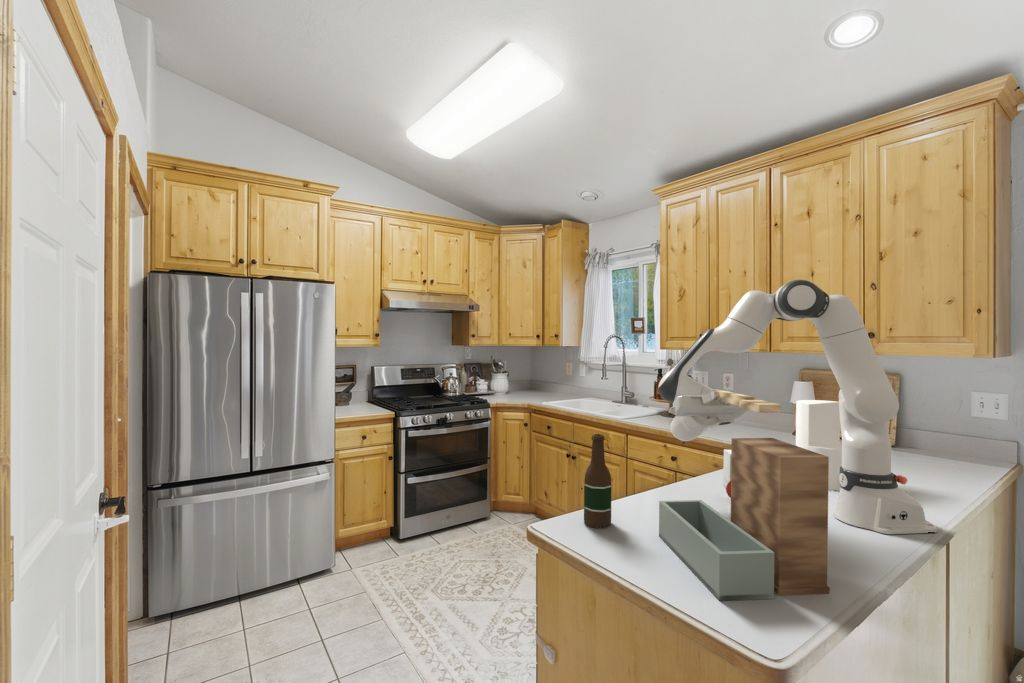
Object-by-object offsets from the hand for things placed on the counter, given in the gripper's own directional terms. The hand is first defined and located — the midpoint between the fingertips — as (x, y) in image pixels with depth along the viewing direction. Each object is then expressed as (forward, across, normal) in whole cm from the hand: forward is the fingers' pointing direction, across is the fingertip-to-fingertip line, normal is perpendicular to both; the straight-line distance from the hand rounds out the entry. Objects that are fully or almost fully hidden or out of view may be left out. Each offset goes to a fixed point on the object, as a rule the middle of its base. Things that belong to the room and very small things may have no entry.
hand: (723, 394), depth 126 cm
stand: (+1, 0, +42) cm, 42 cm away
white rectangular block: (-50, +57, +12) cm, 77 cm away
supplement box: (-46, +23, +15) cm, 54 cm away
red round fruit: (-36, +16, +21) cm, 44 cm away
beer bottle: (-24, -31, +28) cm, 48 cm away
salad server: (+6, 0, +5) cm, 8 cm away
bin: (-2, -12, +40) cm, 42 cm away
